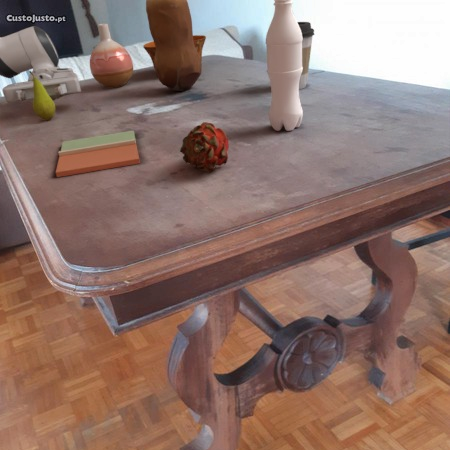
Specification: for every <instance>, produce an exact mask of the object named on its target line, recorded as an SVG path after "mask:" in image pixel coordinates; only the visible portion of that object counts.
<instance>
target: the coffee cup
mask: <svg viewBox="0 0 450 450" xmlns="http://www.w3.org/2000/svg"><path fill="white" fill-rule="evenodd" d="M297 22H298V25H299V27H300V29H301V32H302V37H303V41H302V67H303V71H302V73H301V76H300V81H299V90H301V89H304V88H306V87H307V83H308V78H309V77H308V76H309V69H310V60H311V51H312V43H313V36H315V29H314V28H312V24H311V22H309V21H297Z"/></svg>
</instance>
